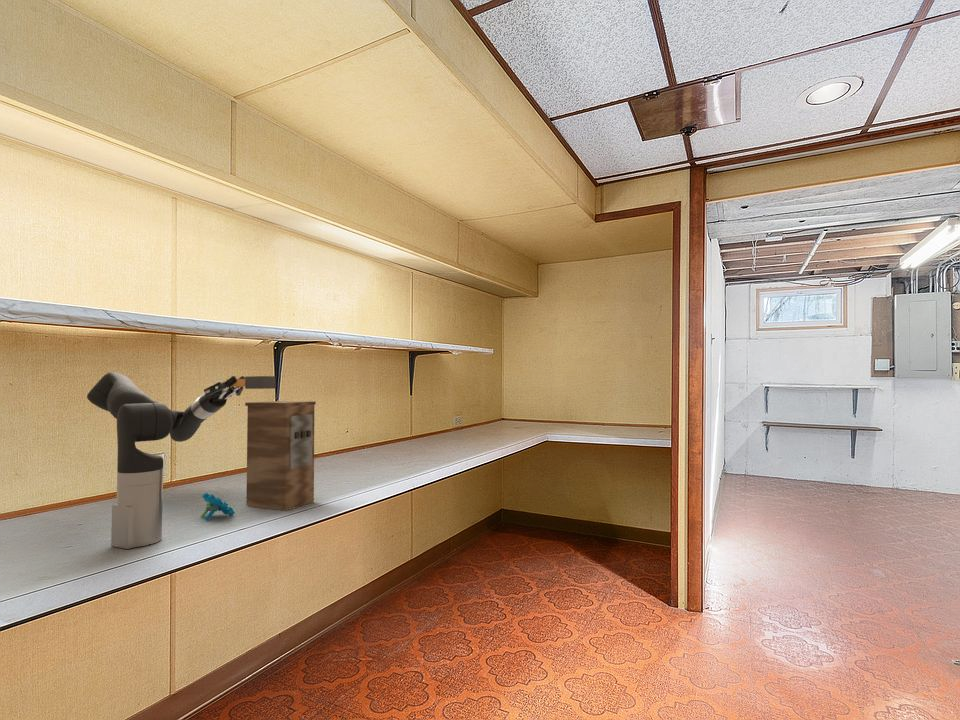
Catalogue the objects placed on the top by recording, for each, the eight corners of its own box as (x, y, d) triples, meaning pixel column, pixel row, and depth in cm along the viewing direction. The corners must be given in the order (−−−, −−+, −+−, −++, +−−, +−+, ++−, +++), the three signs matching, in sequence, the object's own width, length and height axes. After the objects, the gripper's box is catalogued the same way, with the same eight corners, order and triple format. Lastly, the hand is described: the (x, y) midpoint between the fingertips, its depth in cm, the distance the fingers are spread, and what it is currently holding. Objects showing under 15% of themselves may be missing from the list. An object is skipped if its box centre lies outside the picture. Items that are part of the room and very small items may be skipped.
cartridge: (263, 388, 159) (263, 376, 160) (223, 389, 167) (223, 377, 167) (275, 388, 164) (275, 376, 164) (236, 388, 171) (236, 377, 172)
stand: (287, 511, 147) (288, 403, 149) (243, 505, 155) (245, 402, 156) (318, 501, 159) (318, 401, 161) (276, 497, 166) (277, 401, 168)
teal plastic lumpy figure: (242, 511, 141) (214, 490, 137) (227, 530, 137) (198, 509, 133) (225, 511, 148) (199, 490, 144) (211, 528, 144) (183, 508, 140)
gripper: (229, 412, 178) (260, 387, 173) (193, 414, 166) (225, 388, 160) (222, 394, 180) (253, 369, 175) (186, 395, 167) (217, 368, 162)
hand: (239, 378), depth 167 cm, fingers closed on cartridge, 3 cm apart
